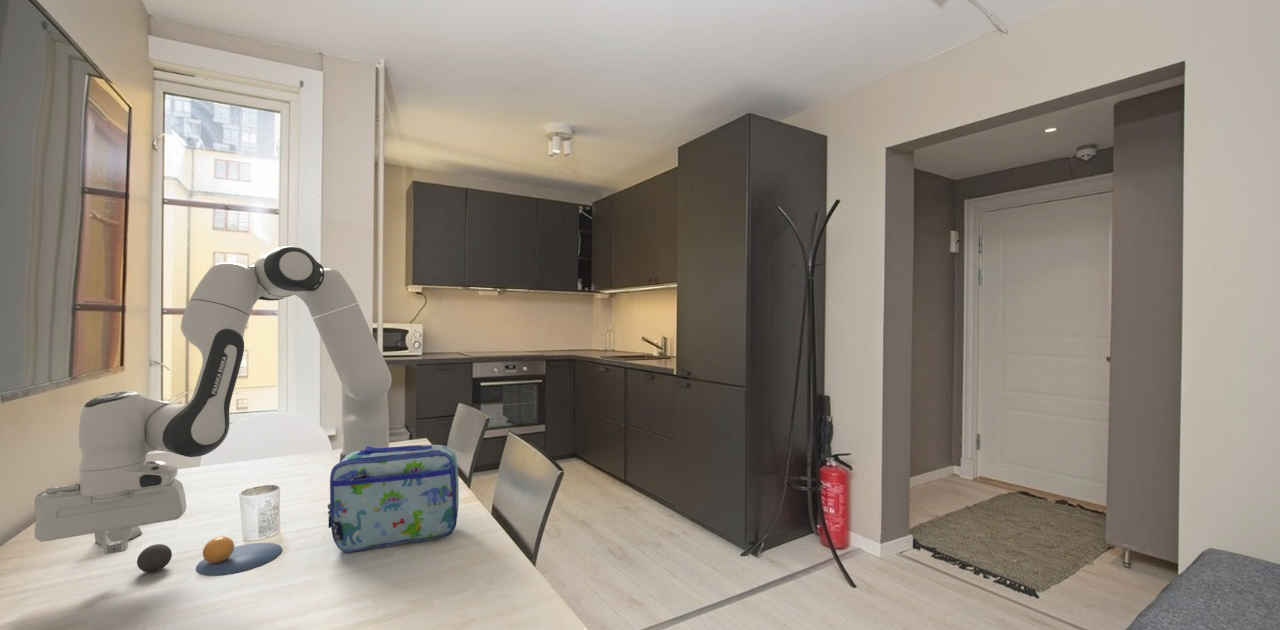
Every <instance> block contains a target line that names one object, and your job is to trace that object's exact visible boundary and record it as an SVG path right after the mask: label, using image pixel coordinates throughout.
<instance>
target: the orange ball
mask: <svg viewBox="0 0 1280 630" xmlns="http://www.w3.org/2000/svg"><path fill="white" fill-rule="evenodd" d="M234 547H235V542H234V541H233V540H232V538H230V537H228V536H221V535H220V536H216V537H214V538H211V539H210V540H209V541H207V543H206V544H205V545H204V547H203V549H202V558H203V559H205V560H206V561H207V562H209V563H220V562H223V561H225V560H226V559H228V558H229V557H230V556H231V554H232V553H233V551H234Z"/></svg>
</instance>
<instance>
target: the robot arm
mask: <svg viewBox="0 0 1280 630" xmlns="http://www.w3.org/2000/svg"><path fill="white" fill-rule="evenodd" d="M292 296H296V297H298V298H299V299H300V300H301V301H303V302H304V304H305V305H306V307H307V308H308V310H309V311H308V312H309V313H310V316H311V318H312V320H313V323H314V325H315V327H316V329H317V331H318V334H319V336H320V338H321V341H322V342H323V344H324V346H325V348H326V351H327V353H328V356H329V359H330V360H331V362H332V364H333V366H334V369H335V371H336V373H337V375H338V377H339V379H340V382H341V421H342V423H341V424H342V427H341V431H342V432H341V452H340V455H339V463H340V462H341V461H342V460H343V458H344V457H345V456H347V455H348V454H350V453H353V452H356V451H361V450H365V448H366V447H367V446H369V447H373V448H387V447H390V442H389V441H390V415H389V406H388V405H389V401H388V391H389V389H390V388H391V385H392V382H393V381H392V374H391V371H390V369H389V367H388V364H387V362H386V361H385V358H384V356H383V353H382V352H381V350H380V347H379V346H378V344H377V341H376V339H375V338H374V335H373V333H372V332H371V329H370V327H369V325H368V322H367V319H366V318H365V316H364V313H363V310H362V309H361V306H360V304H359V301H358V300H357V297H356V296H355V294H354V292H353V290H352V289H351V285H349V284H348V282H347V280H346V279H345V278H344V276H343V275H342V273H340V271H339V270H336V269H333V268H324V267H323V265H322V264H320V263H319V262H318V261H317V260H316V259H315V257H314V256H313V255H312V254H310V252H308V251H306V250H305V249H303V248H301V247H297V246H281V247H280V246H279V247H278V248H275V249H273V250H271V251H269V252H267V253H265V254H263V255H261V256H260V257H259V258H258V259H257V260H256V261H254V262H252V263H250V264H249V265H244V264H240V263H237V262H230V261H224V262H223V261H222V262H218V263H216V264H213V266H211V267H209V269H208V271H206V273H205V274H204V276H202V278H201V280H200V281H199V282H198V284H197V286H196V287H195V289H194V292H193V293H192V294H191V297H190V298H189V301H188V302H187V305H186V307H185V309H184V312H183V313H182V314H183V315H182V317H181V318H182V319H181V321H180V322H181V323H180V330H181V332H182V334H183V336H184V337H185V339H186V340H187V341H188V342H189V343H190V344H192V345H193V346H195V347H196V348H197V349H198V351H199V352H200V354H201V356H202V364H201V368H200V371H199V375H198V376H197V377H198V378H197V381H196V383H195V387H194V389H193V394H192V396H191V399H190V400H189V401H188V402H187V403H181V402H180V403H178V402H170V401H164V400H159V399H156V398H152V397H148V396H145V395H143V394H141V393H139V392H137V391H133V390H126V391H118V392H112V393H106V394H104V395H103V394H102V395H100V396H97V397H94V398H92V399H90V400H89V401H87V402H86V403H85V404H84V406H83V407H82V410H81V412H80V413H81V414H80V418H79V423H78V424H79V426H78V447H79V449H80V451H81V456H82V459H81V462H80V464H79V483H76V484H68V485H63V486H53V487H48V488H46V489H45V490H43V491H41V492H38V494H36V496H35V497H34V510H35V511H36V512H37V514H36V520H35V523H34V524H35V525H34V534H33V535H34V536H33V537H34V539H36V540H37V541H39V542H41V543H44V542H50V541H56V540H62V539H68V538H73V537H74V538H75V537H79V536H86V535H91V534H94V540H97V541H98V542H99V543H100V544H99V543H98V544H99V545H100V546H101V547H103V555H104V556H106V555H107V556H108V555H111V554H116V553H122V552H126V551H127V550H128V548H129V542H128V541H129V540H130V539H129V537H130V536H131V534H132V533H133V531H134V530H135V526H139V527H140V526H145V525H151V524H157V523H163V522H164V523H165V522H170V521H175V520H179V519H180V518H181V517H182V516H183V515H184V514H185V512H186V510H187V499H186V493H185V489H184V486H183V483H182V482H181V481H180V480H179V479H177V478H176V477H178V471H179V470H178V467H177V466H174V465H167V464H166V465H157V464H149V463H146V462H147V454H148V453H150V452H153V451H159V452H165V453H173V454H175V455H180V456H183V457H188V458H197V457H202V456H205V455H207V454H209V453H211V452H213V451H215V450H216V449H217V448H219V446H221V445H222V443H223V442H224V441H225V439H226V437H227V436H228V433H229V430H230V407H231V402H232V401H231V400H232V398H233V394H234V391H235V387H236V384H237V379H238V375H239V372H240V369H241V365H242V360H243V357H244V351H245V341H244V335H245V330H246V328H247V324H248V322H249V318H250V317H251V313H252V311H253V308H254V306H255V305H256V303H257V301H258V300H260V301H280V300H283V299H285V298H290V297H292ZM117 529H122V534H125V533H126V535H125V536H124V538H123V539H122V540H120V541H114V542H112V541H111V540H110V539H109V538H108V537H107V536H106V535H107V534H108V533H109V531H111V530H117Z"/></svg>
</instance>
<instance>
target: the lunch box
mask: <svg viewBox="0 0 1280 630" xmlns="http://www.w3.org/2000/svg"><path fill="white" fill-rule="evenodd" d="M458 465H459V464H458V458H457V454H456V453H455V451H454V450H453V449H452V448H451V447H448V446H447V445H441V444H416V445H415V444H414V445H399V446H391V447H390V446H389V447H387V448H373V447H369V446H367V447H366V448H365V450H361V451H356V452H353V453H350V454H348V455H347V456H345V457H344V458H343V460H342V461H341V462H340V461H339V462H338V463H337V464H335V465H334V466H333V467H332V469H331V471H330V477H329V499H330V501H329V503H328V504H327V509H328V511H327V515H328V521H327V522H328V529H330V528H331V534H332V538H333V539H332V540H333V541H334V542H333V543H334V544H335V545H336V547H337V548H338V549H339V550H340V551H342V552H343V553H347V552H349V553H354V552H359V551H363V550H368V549H374V548H382V547H389V546H388V545H390V546H394V545H395V544H397V545H401V544H402V543H403V544H410V543H409V542H411V543H416V541H418V542H424V541H431V540H436V539H442V538H445V537H446V538H447V537H449V536H450V535H451V534H452V533H453V532H454V531H455V529H456V526H457V523H458V522H457V520H458V513H459V501H460V499H459V497H460V496H459V493H460V491H459V489H460V487H459V483H460V482H459V467H458ZM395 546H396V545H395Z"/></svg>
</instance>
